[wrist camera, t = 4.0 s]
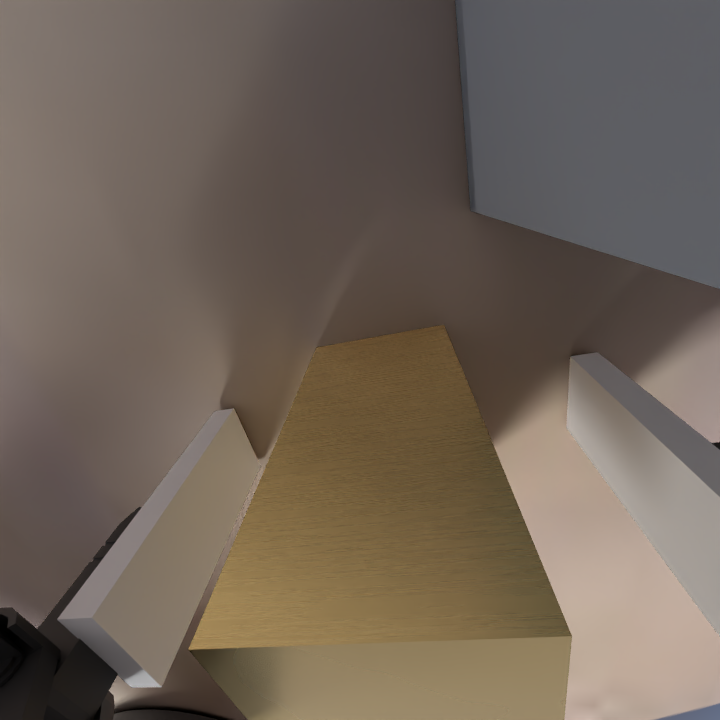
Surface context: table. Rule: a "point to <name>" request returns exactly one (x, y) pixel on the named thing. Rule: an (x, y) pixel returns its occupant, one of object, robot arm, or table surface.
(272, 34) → the table surface
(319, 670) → the gold rectangular block
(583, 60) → the grey box with hole
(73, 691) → the robot arm
